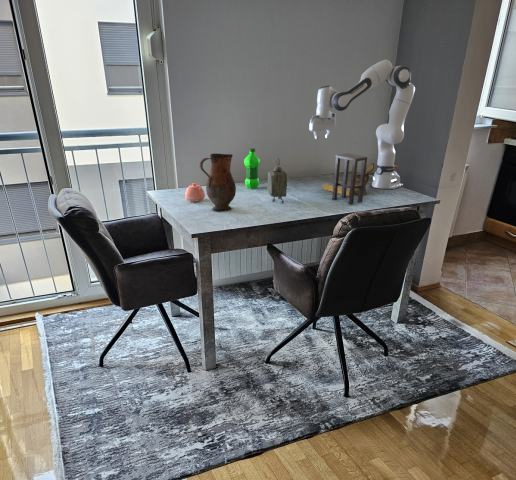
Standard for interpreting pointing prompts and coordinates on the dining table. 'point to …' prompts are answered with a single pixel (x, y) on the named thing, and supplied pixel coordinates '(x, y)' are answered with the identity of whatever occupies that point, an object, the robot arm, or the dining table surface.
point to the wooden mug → (365, 179)
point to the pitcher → (220, 181)
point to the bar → (330, 188)
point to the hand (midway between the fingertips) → (321, 138)
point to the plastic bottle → (252, 169)
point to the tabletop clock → (277, 183)
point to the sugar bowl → (194, 193)
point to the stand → (353, 177)
